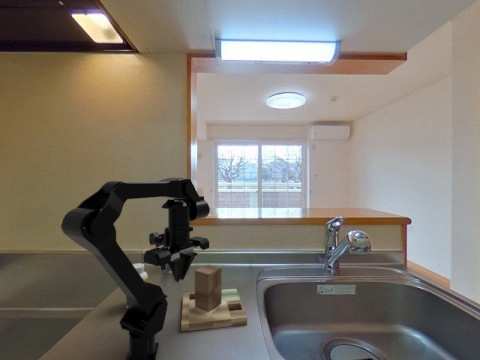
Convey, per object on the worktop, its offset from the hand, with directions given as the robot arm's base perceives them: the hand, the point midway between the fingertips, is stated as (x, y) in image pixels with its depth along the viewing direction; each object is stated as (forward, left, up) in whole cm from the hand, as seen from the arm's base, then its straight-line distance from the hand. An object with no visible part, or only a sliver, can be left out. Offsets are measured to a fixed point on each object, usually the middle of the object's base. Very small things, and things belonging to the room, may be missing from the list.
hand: (179, 280), depth 69 cm
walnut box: (+7, -8, -11) cm, 15 cm away
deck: (+7, -9, -13) cm, 18 cm away
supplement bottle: (+14, +14, -13) cm, 24 cm away
